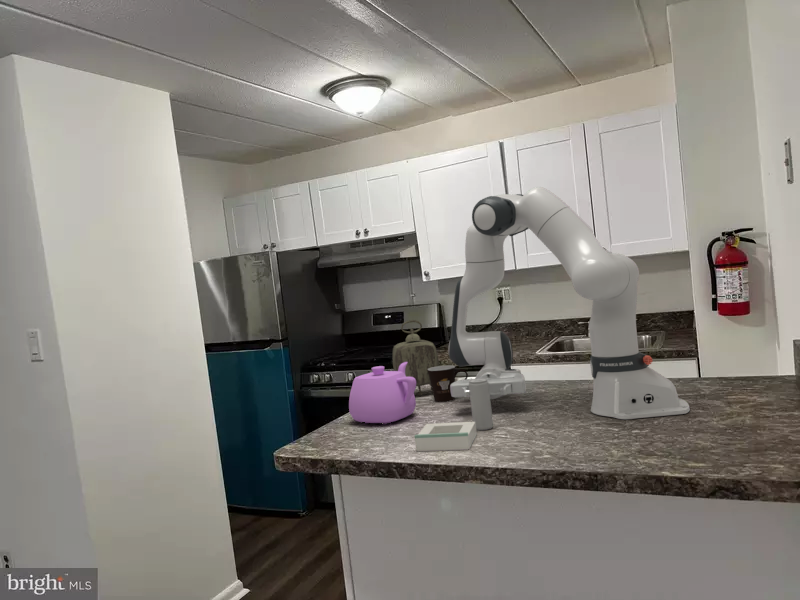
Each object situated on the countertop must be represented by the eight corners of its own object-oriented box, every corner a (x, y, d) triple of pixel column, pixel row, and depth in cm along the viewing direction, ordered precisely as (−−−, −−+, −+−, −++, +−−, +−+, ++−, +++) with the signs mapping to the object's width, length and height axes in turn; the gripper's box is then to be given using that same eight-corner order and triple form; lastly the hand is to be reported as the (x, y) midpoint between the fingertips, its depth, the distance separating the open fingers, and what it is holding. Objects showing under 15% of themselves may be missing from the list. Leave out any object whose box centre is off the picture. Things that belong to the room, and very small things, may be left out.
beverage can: (492, 430, 140) (487, 381, 140) (473, 431, 141) (467, 382, 141) (493, 425, 145) (488, 377, 144) (474, 426, 146) (469, 378, 145)
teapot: (402, 429, 151) (395, 372, 150) (341, 425, 163) (335, 372, 163) (447, 408, 169) (441, 357, 169) (389, 406, 182) (384, 358, 181)
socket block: (476, 434, 138) (475, 419, 138) (469, 449, 127) (467, 433, 127) (427, 436, 142) (426, 421, 142) (416, 451, 130) (414, 435, 130)
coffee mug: (427, 403, 179) (423, 371, 179) (436, 397, 187) (432, 366, 187) (463, 402, 175) (459, 369, 174) (471, 395, 182) (467, 364, 182)
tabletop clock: (438, 389, 199) (429, 317, 198) (443, 394, 190) (434, 318, 189) (396, 395, 197) (387, 322, 196) (399, 400, 188) (391, 323, 187)
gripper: (453, 374, 167) (444, 383, 153) (525, 368, 161) (522, 378, 148) (456, 395, 167) (446, 407, 154) (528, 391, 161) (525, 402, 148)
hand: (484, 392), depth 151 cm, fingers open, 8 cm apart
